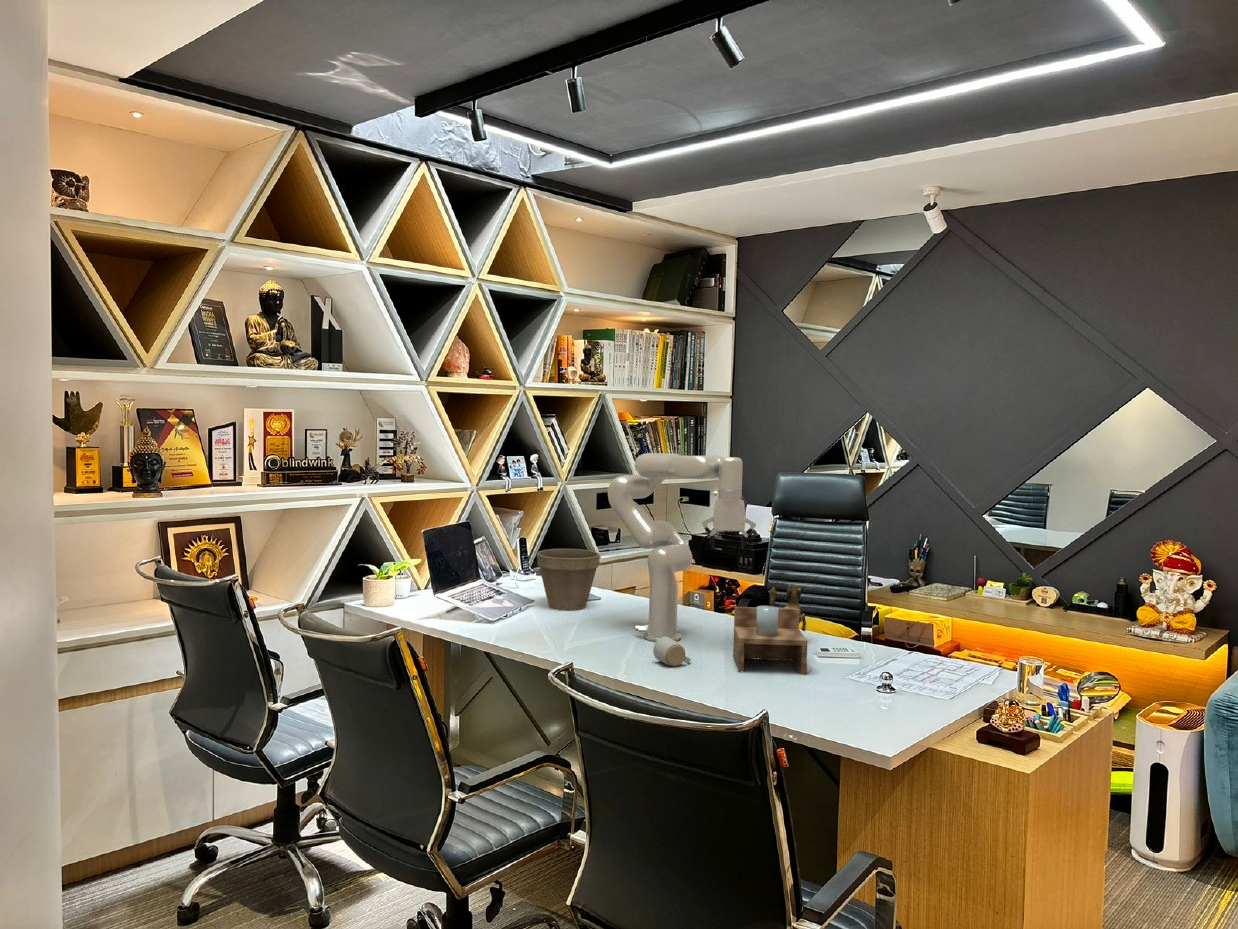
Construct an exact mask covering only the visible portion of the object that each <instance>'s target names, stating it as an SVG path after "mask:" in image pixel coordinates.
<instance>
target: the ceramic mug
mask: <svg viewBox="0 0 1238 929" xmlns="http://www.w3.org/2000/svg"><path fill="white" fill-rule="evenodd" d="M652 650H653V651H652V652H653V656H654V658H655V659H656V660H657V661H658V662H661V663H663V664H665V665H667V666H670V667H678V666H681V664H683V663H685V664H690V662H691V658H690V657H688V656H687V655H686V651H685V648H684V646H682V644H681V643H679V642H678V641H674V640H673V639H671V638H669V637H661V638H660V639H658V640H657V641H655V643H654V645H653V649H652Z"/></svg>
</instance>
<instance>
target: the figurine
mask: <svg viewBox="0 0 1238 929" xmlns="http://www.w3.org/2000/svg"><path fill="white" fill-rule="evenodd" d="M777 592H778V591H777V590H776V588H775V586H772V588H770V590H769V606H774V607H775V602H776V599H777V596H778V593H777ZM785 597H786V600H787V605H785V606H784V607H782V606H777V607H778V608H786V609H799V624H801V622H802V627H801V632H806V626H807V621H806V614H805V613H802V611H801V606H800V603H799V602H800V601H801V597H802V588H800V587H799V585H796V584H789V585H788V587H787V589H786V595H785Z"/></svg>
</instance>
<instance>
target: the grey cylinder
mask: <svg viewBox="0 0 1238 929" xmlns="http://www.w3.org/2000/svg"><path fill="white" fill-rule="evenodd" d="M756 607H757V620H756V634H758V635H762V636H776V635H777V633H778V607H779V606H775V605H774V606H770V605H757V606H756Z"/></svg>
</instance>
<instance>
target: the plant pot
mask: <svg viewBox="0 0 1238 929" xmlns="http://www.w3.org/2000/svg"><path fill="white" fill-rule="evenodd" d="M600 559H601V554H600V553H599V552H597V551H594V550H588V549H581V548H551V549H543V550H539V551H537V553H536V560H537V562H536V564H537V566H538V567H539V569H540V575H541V579H542V583H543V588H544V592H545V597H546V601H547V603H548V607H549V608H550V609H552V610H555V609H558V610H557V611H563V610H565V611H571V612H572V611H581V610H583V609H585V608H586V607H587V605H588V600H589V598H590V593H591V590H592V586H593V583H594V579H595V575H596V572H597V568H598V567H599V566H600ZM580 609H581V610H580Z"/></svg>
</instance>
